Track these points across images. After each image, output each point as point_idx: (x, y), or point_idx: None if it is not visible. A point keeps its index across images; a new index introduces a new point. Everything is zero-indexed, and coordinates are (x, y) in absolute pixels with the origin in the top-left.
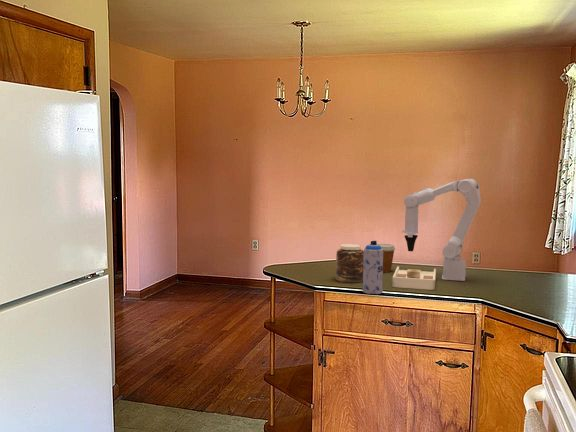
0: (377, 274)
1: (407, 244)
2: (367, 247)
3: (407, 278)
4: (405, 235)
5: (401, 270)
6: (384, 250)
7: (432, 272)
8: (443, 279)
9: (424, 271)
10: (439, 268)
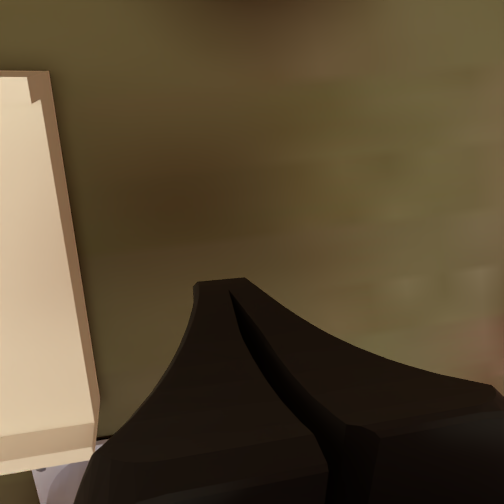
0: None
1: (183, 346)
2: None
3: None
4: (287, 500)
5: (6, 132)
6: None
7: (60, 418)
8: None
9: (74, 356)
10: (448, 366)
